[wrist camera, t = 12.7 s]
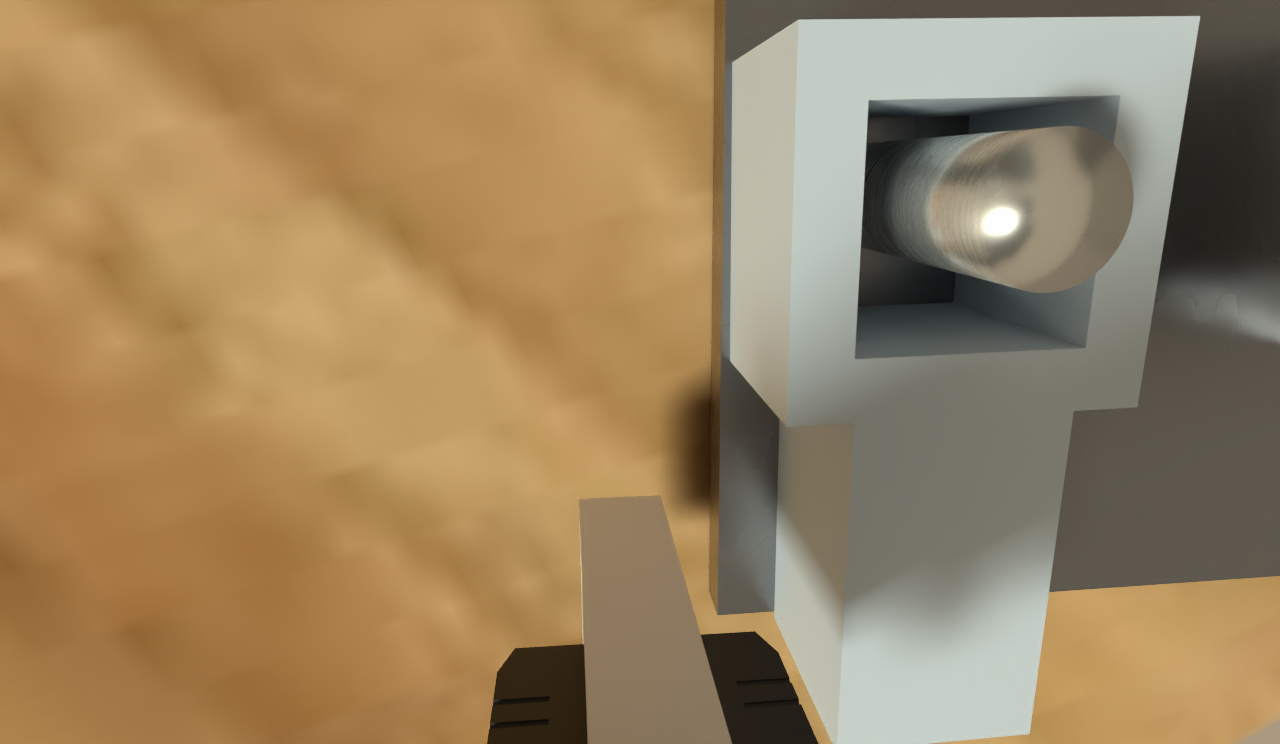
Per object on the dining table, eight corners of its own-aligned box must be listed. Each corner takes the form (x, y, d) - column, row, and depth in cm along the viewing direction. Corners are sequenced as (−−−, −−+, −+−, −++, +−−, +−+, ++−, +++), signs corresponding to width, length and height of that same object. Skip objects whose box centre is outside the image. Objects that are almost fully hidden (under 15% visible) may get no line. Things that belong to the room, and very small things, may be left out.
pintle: (828, 142, 14) (986, 126, 9) (929, 141, 14) (1146, 125, 9) (823, 249, 15) (968, 294, 9) (921, 247, 15) (1120, 290, 9)
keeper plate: (715, -21, 14) (844, -186, 7) (1433, -17, 15) (2076, -154, 9) (709, 590, 17) (794, 842, 11) (1295, 550, 19) (1684, 755, 12)
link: (732, 62, 13) (798, 19, 10) (1025, 58, 14) (1200, 15, 10) (728, 621, 17) (776, 758, 13) (968, 602, 17) (1086, 728, 13)
